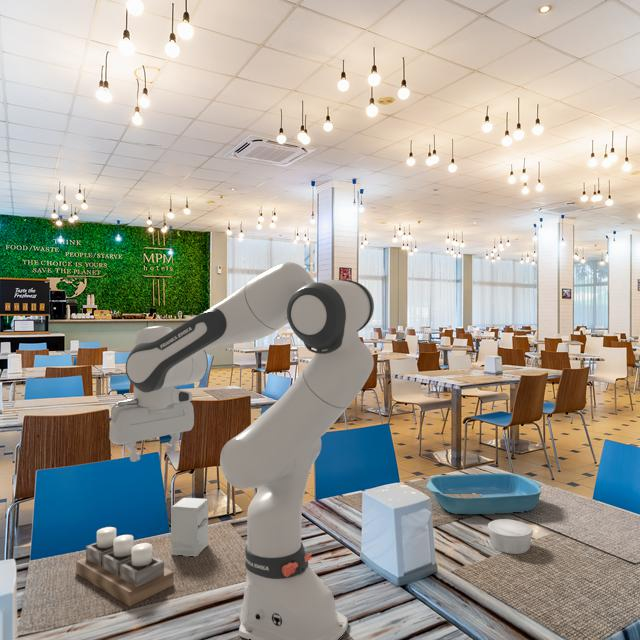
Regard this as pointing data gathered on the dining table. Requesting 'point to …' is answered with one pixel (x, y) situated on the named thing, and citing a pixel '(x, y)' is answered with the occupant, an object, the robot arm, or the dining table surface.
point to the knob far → (106, 537)
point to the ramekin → (510, 536)
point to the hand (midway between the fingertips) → (153, 456)
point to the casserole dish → (485, 493)
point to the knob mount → (123, 575)
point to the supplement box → (189, 526)
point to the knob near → (141, 554)
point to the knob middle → (123, 545)
